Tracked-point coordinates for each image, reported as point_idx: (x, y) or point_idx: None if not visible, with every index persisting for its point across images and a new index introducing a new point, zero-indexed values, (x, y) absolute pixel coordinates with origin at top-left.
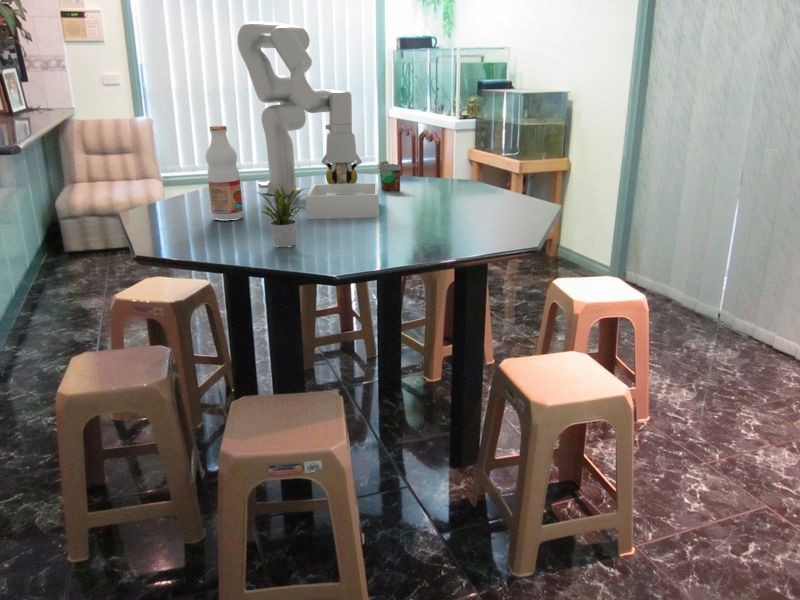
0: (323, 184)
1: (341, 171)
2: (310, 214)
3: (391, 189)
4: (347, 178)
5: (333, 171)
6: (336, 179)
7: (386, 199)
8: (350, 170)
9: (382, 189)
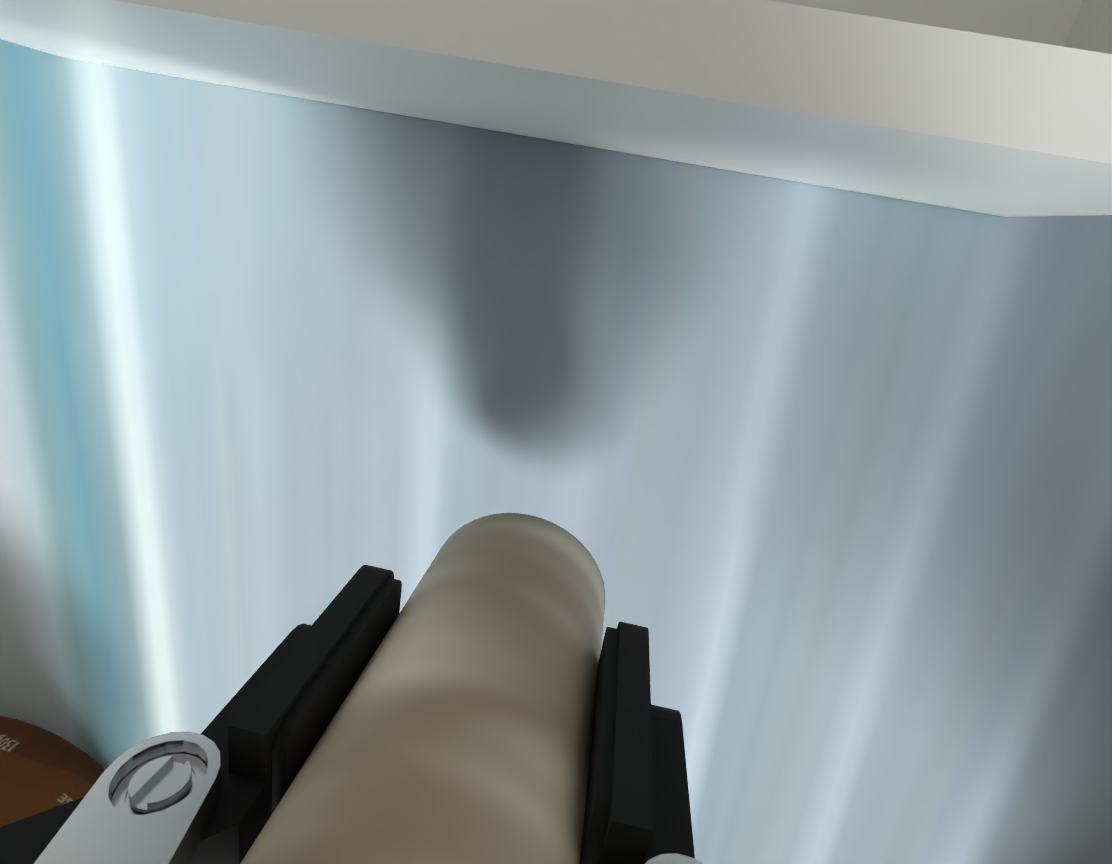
0: (1085, 108)
1: (431, 766)
2: None
3: (15, 741)
4: (359, 625)
5: (663, 857)
6: (592, 695)
7: (16, 331)
8: (168, 773)
9: None
